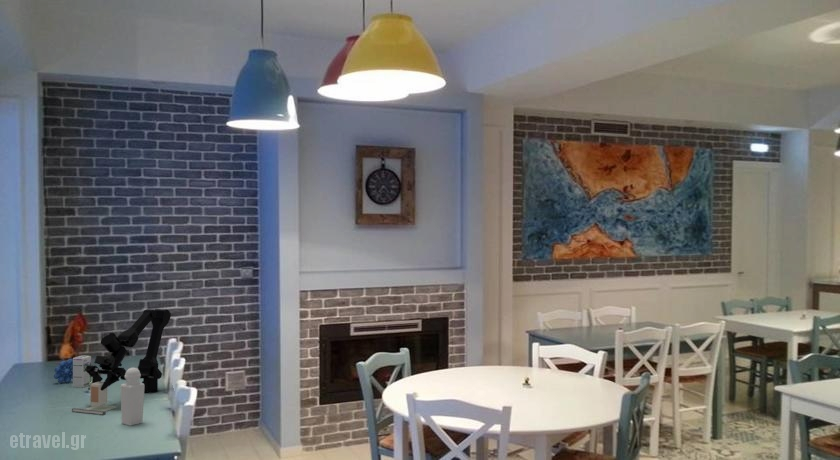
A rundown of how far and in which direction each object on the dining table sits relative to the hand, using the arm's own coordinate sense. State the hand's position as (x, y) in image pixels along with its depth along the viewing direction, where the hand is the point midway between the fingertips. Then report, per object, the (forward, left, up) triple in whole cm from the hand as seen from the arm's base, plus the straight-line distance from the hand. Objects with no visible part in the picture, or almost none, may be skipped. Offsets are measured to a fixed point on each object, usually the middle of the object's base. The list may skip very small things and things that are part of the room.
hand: (96, 389), depth 275 cm
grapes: (+20, -58, -9) cm, 62 cm away
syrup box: (+12, -48, -9) cm, 50 cm away
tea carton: (-1, -1, -7) cm, 7 cm away
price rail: (+2, +3, -9) cm, 10 cm away
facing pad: (-1, -1, -9) cm, 9 cm away
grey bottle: (-16, +24, -9) cm, 30 cm away
